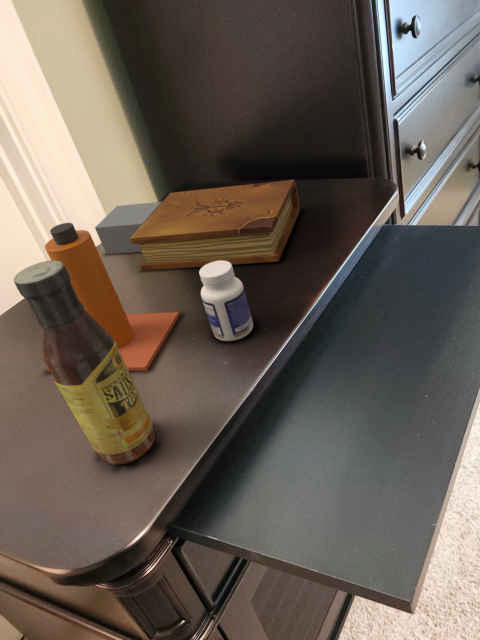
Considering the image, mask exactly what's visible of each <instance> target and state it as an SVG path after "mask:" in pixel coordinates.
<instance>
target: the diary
mask: <svg viewBox="0 0 480 640" xmlns="http://www.w3.org/2000/svg"><path fill="white" fill-rule="evenodd" d="M161 202H162V203H161V204H160V205H159V206H158V208H157V209H156V210H155V211H154V212H153V213H152V214H151V215H150V216H149V218H148V219H147V220H146V221H145V222H144V223H143V224H142V225H141V227H140V228H139V229H138V230H137V231H136V232H135V233H134V234H133V235H132V237H131V238H130V240H131V243H132V244H137V243H138V244H139V247H140V249H141V252H140V253H141V254H142V257H143V259H144V261H143V262H142V263H141V264H140V267H141V270H142V271H143V272H144V271H158V270H171V269H173V270H174V269H187V268H202V267H203V266H204V265H206V264H208V263H211V262H214V261H228V262H230V263H231V264H232V265H245V264H246V265H247V264H258V263H259V264H260V263H261V264H262V263H273V262H280V259H281V257H282V255H283V251H284V249H285V247H286V245H287V242H288V240H289V237H290V235H291V233H292V230H293V228H294V226H295V223H296V221H297V219H298V217H299V214H300V210H301V209H300V199H299V194H298V186H297V183H296V180H295V179H287V180H279V181H269V182H259V183H248V184H240V185H231V186H222V187H221V186H220V187H213V188H204V189H203V188H202V189H194V190H186V191H176V192H175V191H174V192H170V193H169V194H168V195H167V196H166V197H165V198H164V200H162V201H161Z"/></svg>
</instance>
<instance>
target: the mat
mask: <svg viewBox="0 0 480 640" xmlns="http://www.w3.org/2000/svg"><path fill="white" fill-rule="evenodd" d="M126 316H127V318H128V320H129V322H130V325H131V327H132V329H133V331H134V336H133V338H132V339H131V340H130V342H128V343H127V344H126V345H124V346H122V347H120V348H119V351H120V353H121V355H122V357H123V360H124V362H125V364H126V366H127V368H128V370H129V372H147V371H148V370H149V368H150V366H151V365H152V363H153V361H154V360H155V358H156V356H157V355H158V353H159V351H160V350H161V348H162V346H163V344H164V343H165V341H166V339H167V338H168V337H169V335H170V332H171V331H172V329H173V328H174V326H175V324H176V323H177V321H178V320H179V318H180V312H179V311H172V312H150V313H149V312H148V313H147V312H146V313H127V314H126ZM45 369H46V371H47V372H48V373H51V372H50V370H49V368H48V367H47V366H46V368H45Z"/></svg>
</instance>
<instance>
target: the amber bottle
mask: <svg viewBox="0 0 480 640" xmlns="http://www.w3.org/2000/svg"><path fill="white" fill-rule="evenodd" d="M49 233H50V235H51V237H52V238H51V239H49V240H48V241H47V242H46V243H45V245H44V249H45V251H46V253H47V255H48V257H49V259H50V260H55V261H60V262H62V263H63V264H64V266H65V267H66V269H67V271H68V273H69V275H70V279H71V284H72V287H73V289H74V290H75V293H76V295H77V297H78V299H79V301H80V302H81V303H82V305H83V306H84V309H85V310H86V311H87V312H88V313H89V314H90V315H91V317H92V318H93V319H94V320H95V321H96V322H97V323H98V324H99V325H100V326H101V327H102V328H103V329H104V330H105V331H106V332H107V333H108V334H109V335H110V336H111V337H112V338H114V340H115V342H116V344H117V346H118V348H120V347H122V346H124V345H126V344H127V343H128V342H130V340H131V339H132V338H133V336H134V331H133V329H132V327H131V325H130V322H129V320H128V318H127V316H126V312H125V310H124V307H123V305H122V302H121V300H120V298H119V296H118V293H117V290H116V289H115V287H114V284H113V282H112V280H111V277H110V276H109V273H108V271H107V268H106V266H105V264H104V262H103V259H102V258H101V255H100V253H99V251H98V249H97V246H96V244H95V241H94V240H93V238H92V235H91V233H90V232H89V231H88V230H85V229H78V230H76V228H75V226H74V224H73V223H72V222H64V223H60V224H57V225H55V226H53V227H52V228H50V229H49Z"/></svg>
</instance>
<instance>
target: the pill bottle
mask: <svg viewBox="0 0 480 640" xmlns="http://www.w3.org/2000/svg"><path fill="white" fill-rule="evenodd" d="M198 274H199V277H200V281H201V283H202V285H203V286H202V287H201V289H200V297H201V301H202V304H203V307H204V310H205V313H206V316H207V319H208V322H209V325H210V328H211V331H212V333H213V336H214V337H215V338H216V339H217V340H219V341H222V342H234V341H235V342H236V341H239V340H241V339H243V338H245V337H247V336H248V335H249V334H250V333H251V332H252V330H253V328H254V321H253V317H252V314H251V313H252V312H251V310H250V305H249V302H248V298H247V295H246V291H245V288H244V284H243V282H242V281H241V280H240V279H239V278H238V277H236V274H235V271H234V268H233V264H231V263H230V262H228V261H214V262H211V263H208V264H206V265H204V266H202V267H200V269H199V271H198Z"/></svg>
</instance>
